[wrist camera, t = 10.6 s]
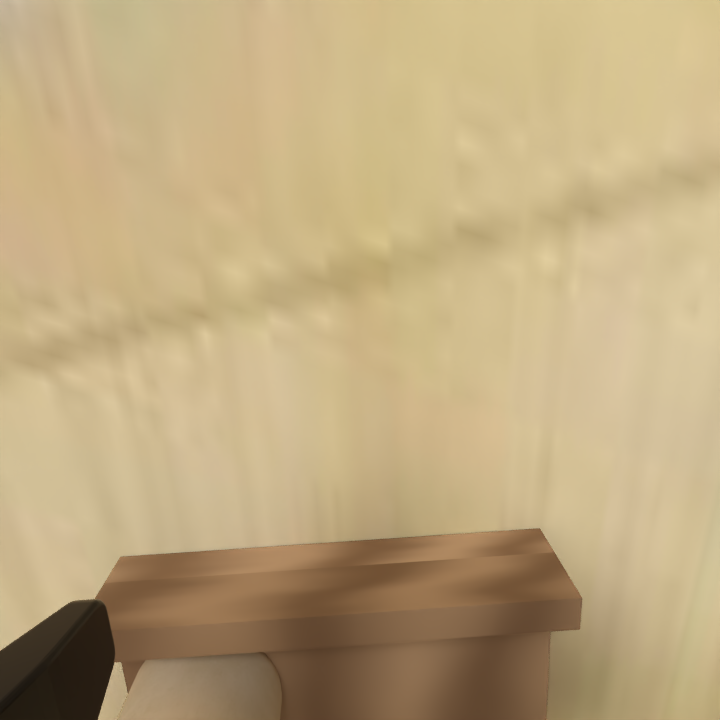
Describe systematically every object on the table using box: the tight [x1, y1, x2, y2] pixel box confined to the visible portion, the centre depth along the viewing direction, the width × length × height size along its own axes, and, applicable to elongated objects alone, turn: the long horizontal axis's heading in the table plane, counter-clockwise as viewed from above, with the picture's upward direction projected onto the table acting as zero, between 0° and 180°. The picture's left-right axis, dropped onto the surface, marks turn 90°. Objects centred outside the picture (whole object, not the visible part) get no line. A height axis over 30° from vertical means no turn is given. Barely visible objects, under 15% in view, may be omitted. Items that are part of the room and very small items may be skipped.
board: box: [95, 529, 582, 720], centre depth 21 cm, size 16×9×4 cm, turn 93°
